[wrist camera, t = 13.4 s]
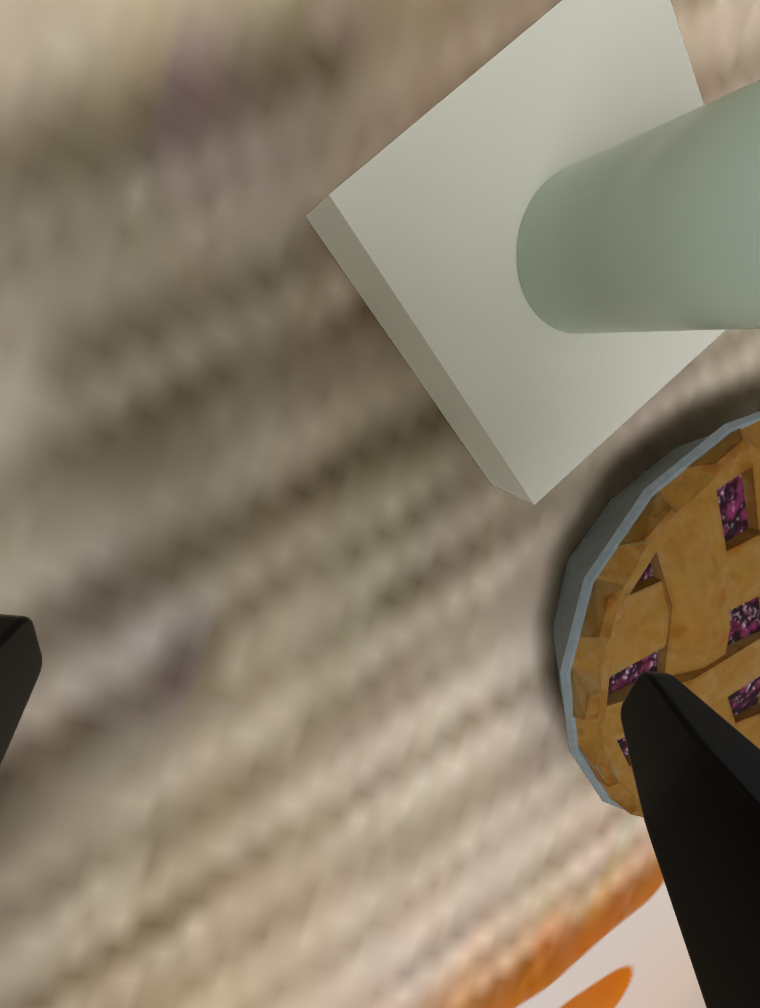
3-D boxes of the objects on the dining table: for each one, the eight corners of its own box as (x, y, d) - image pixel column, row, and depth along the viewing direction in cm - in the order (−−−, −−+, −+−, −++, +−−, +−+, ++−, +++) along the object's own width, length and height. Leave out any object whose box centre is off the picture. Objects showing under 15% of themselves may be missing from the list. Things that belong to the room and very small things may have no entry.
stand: (491, 484, 22) (534, 505, 20) (305, 216, 17) (328, 194, 15) (696, 298, 23) (764, 293, 21) (577, -10, 18) (647, -71, 15)
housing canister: (525, 348, 18) (967, 353, 8) (507, 176, 16) (1042, -98, 6) (648, 316, 19) (1161, 286, 9) (643, 153, 17) (1266, -103, 7)
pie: (579, 839, 32) (646, 923, 27) (461, 528, 23) (531, 575, 18) (850, 645, 35) (948, 691, 31) (837, 316, 27) (971, 312, 22)
